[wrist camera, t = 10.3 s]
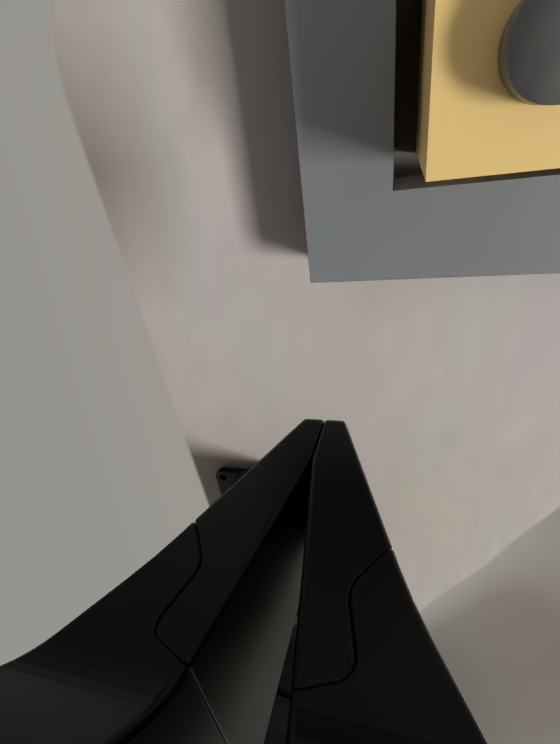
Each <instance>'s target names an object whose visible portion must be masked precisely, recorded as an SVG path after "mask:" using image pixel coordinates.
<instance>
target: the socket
mask: <svg viewBox="0 0 560 744" xmlns="http://www.w3.org/2000/svg"><path fill="white" fill-rule="evenodd" d="M284 3H285V14H286V25H287V36H288V46H289V57H290V68H291V78H292V89H293V100H294V111H295V121H296V132H297V143H298V154H299V164H300V175H301V186H302V196H303V207H304V218H305V229H306V239H307V250H308V261H309V272H310V282H311V283H318V282H344V281H369V280H394V279H420V278H445V277H471V276H496V275H521V274H547V273H560V168H556V169H546V170H537V171H527V172H517V173H508V174H498V175H488V176H479V177H469V178H459V179H450V180H440V181H430V182H425V178H424V175H414V176H404V177H395V178H394V144H395V88H396V32H397V0H284Z"/></svg>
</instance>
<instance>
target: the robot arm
mask: <svg viewBox="0 0 560 744" xmlns="http://www.w3.org/2000/svg"><path fill="white" fill-rule="evenodd" d="M216 478H217V481H218V484H219V487H220V491H221V494H222V496H221V497H220V498H219V499H218V500H217V501H216V502H214V503H213V504H212V505H211V506H210V507H209V508H208V509H207V510H206V511H205V512H204V513H203V514H201V515H200V516H199V517H198V518H197V519H196V521H195V522H196V524H195V523H192V524H190V525H189V526H188V527H187V528H186V529H185V530H184V531H183V532H182V533H181V534H180V535H179V536H178V537H176V538H175V539H174V540H173V541H172V542H171V543H169V544H168V545H167V546H166V547H165V548H164V549H163V550H161V551H160V552H159V553H158V554H157V555H156V556H155V557H153V558H152V559H151V560H150V561H148V562H147V563H146V564H145V565H144V566H142V567H141V568H140V569H139V570H137V571H136V572H135V573H134V574H132V575H131V576H130V577H129V578H127V579H126V580H125V581H124V582H122V583H121V584H120V585H118V586H117V587H116V588H114V589H113V590H112V591H110V592H109V593H108V594H107V595H105V596H104V597H103V598H102V599H100V600H99V601H98V602H96V603H95V604H94V605H92V606H91V607H90V608H88V609H87V610H86V611H85V612H83V613H82V614H81V615H79V616H78V617H77V618H75V619H74V620H73V621H72V622H70V623H69V624H68V625H66V626H65V627H64V628H63V629H61V630H60V631H59V632H57V633H56V634H55V635H53V636H52V637H51V638H49V639H48V640H46V641H45V642H44V643H42V644H40V645H39V646H37V647H36V648H34V649H32V650H31V651H29V652H28V653H26V654H24V655H22V656H20V657H18V658H16V659H15V660H12V661H10V662H8V663H6V664H4V665H1V666H0V744H487V742H486V741H485V739H484V737H483V735H482V733H481V731H480V729H479V727H478V725H477V723H476V722H475V720H474V718H473V716H472V714H471V712H470V710H469V708H468V707H467V704H466V703H465V701H464V699H463V697H462V695H461V693H460V691H459V689H458V687H457V686H456V684H455V682H454V680H453V678H452V676H451V674H450V672H449V670H448V669H447V667H446V665H445V663H444V661H443V659H442V657H441V655H440V653H439V651H438V649H437V648H436V646H435V644H434V642H433V640H432V638H431V636H430V634H429V632H428V630H427V628H426V626H425V624H424V622H423V620H422V618H421V615H420V613H419V611H418V609H417V607H416V605H415V603H414V601H413V599H412V596H411V594H410V591H409V589H408V587H407V584H406V582H405V579H404V577H403V575H402V572H401V570H400V567H399V564H398V562H397V559H396V556H395V554H394V551H393V550H392V546H391V544H390V541H389V538H388V536H387V533H386V530H385V528H384V525H383V522H382V520H381V517H380V514H379V512H378V509H377V506H376V504H375V501H374V498H373V496H372V493H371V490H370V488H369V485H368V482H367V480H366V477H365V474H364V472H363V469H362V466H361V463H360V461H359V458H358V455H357V453H356V450H355V447H354V445H353V442H352V439H351V437H350V434H349V431H348V429H347V426H346V424H345V422H344V421H336V420H327V421H325V422H324V421H323V420H318V419H305V420H303V421H302V422H301V423H300V424H299V425H298V426H297V427H296V428H295V429H293V430H292V431H291V432H290V433H289V434H288V435H287V436H286V437H285V438H284V439H283V440H282V441H280V442H279V443H278V444H277V445H276V446H275V447H274V448H273V449H272V450H271V451H270V452H269V453H267V454H266V455H265V456H264V457H263V458H262V459H261V460H260V461H259V462H258V463H257V464H256V465H255V466H253V467H252V468H251V469H250V470H244V469H233V468H220V469H219V470H218V472H217V474H216Z"/></svg>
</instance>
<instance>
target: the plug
mask: <svg viewBox="0 0 560 744" xmlns="http://www.w3.org/2000/svg"><path fill="white" fill-rule="evenodd" d="M416 154H417V157H418V160H419V163H420V166H421V169H422V172H423V175H424V178H425V182H430V181H440V180H450V179H459V178H469V177H479V176H488V175H498V174H508V173H517V172H527V171H537V170H546V169H556V168H560V0H422V24H421V48H420V72H419V96H418V120H417V144H416Z"/></svg>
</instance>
